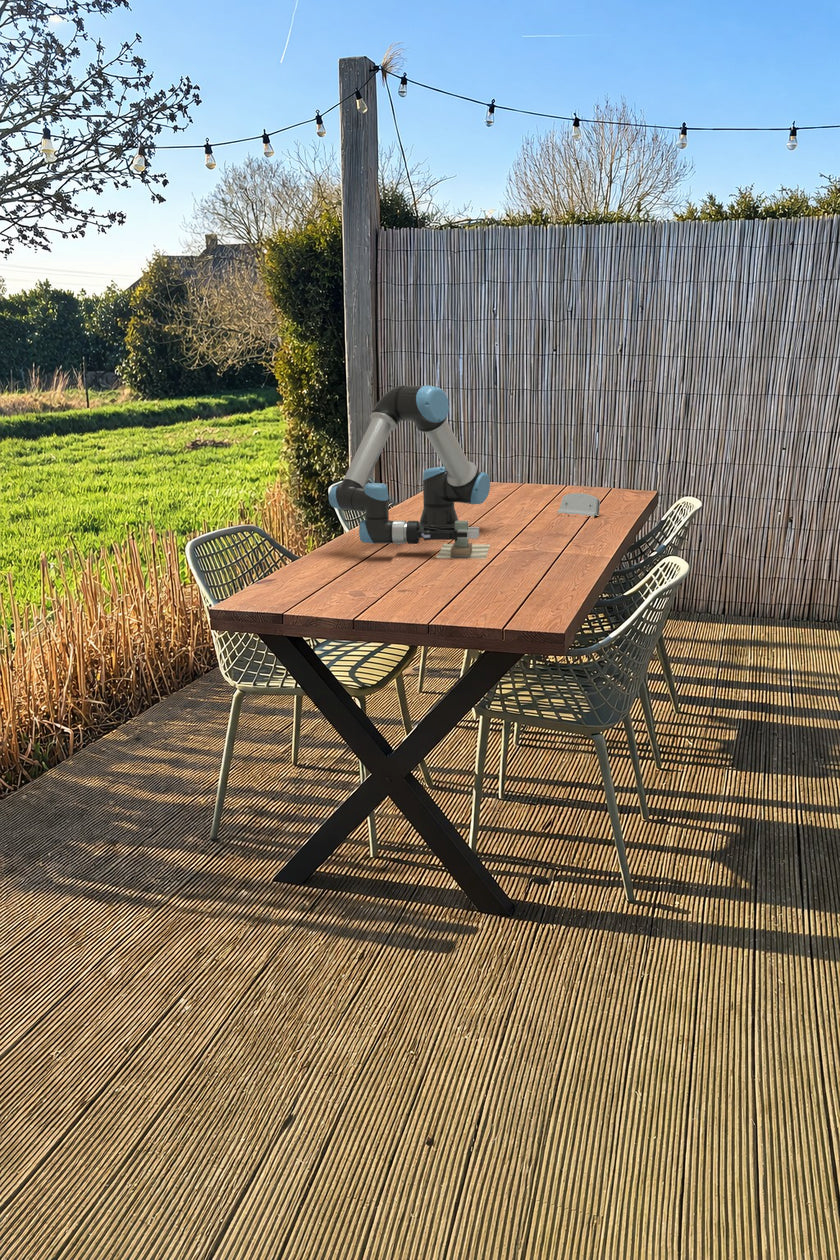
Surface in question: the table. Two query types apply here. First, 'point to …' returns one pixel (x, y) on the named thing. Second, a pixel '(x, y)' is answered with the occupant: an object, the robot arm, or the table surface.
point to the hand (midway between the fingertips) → (478, 532)
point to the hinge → (580, 504)
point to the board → (476, 553)
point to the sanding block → (461, 542)
